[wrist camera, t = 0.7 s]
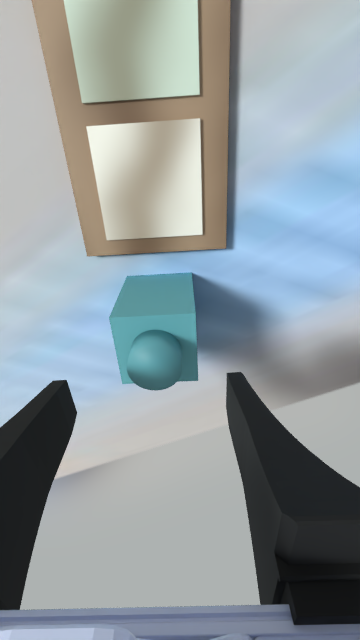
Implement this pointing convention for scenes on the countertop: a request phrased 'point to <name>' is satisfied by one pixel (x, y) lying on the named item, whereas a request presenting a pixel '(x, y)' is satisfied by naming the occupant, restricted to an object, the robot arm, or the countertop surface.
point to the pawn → (156, 330)
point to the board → (142, 118)
